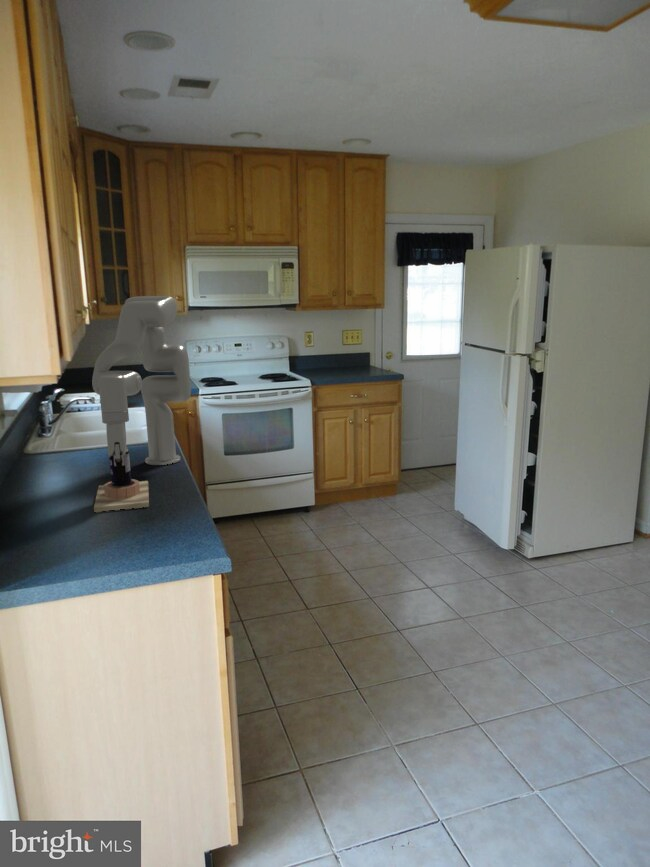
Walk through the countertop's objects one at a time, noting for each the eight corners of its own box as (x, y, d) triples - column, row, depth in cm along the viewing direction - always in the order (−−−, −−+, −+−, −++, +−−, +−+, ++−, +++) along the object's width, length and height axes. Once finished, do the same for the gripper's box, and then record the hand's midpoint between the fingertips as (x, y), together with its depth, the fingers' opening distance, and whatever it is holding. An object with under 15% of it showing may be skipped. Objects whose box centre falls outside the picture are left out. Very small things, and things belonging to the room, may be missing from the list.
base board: (99, 489, 200) (98, 485, 200) (148, 485, 204) (147, 480, 203) (94, 512, 179) (93, 507, 179) (149, 506, 183) (148, 501, 183)
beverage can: (124, 482, 195) (121, 444, 192) (135, 485, 191) (132, 447, 188) (108, 486, 190) (104, 448, 188) (119, 490, 187) (115, 451, 184)
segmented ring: (106, 490, 195) (105, 480, 194) (139, 486, 197) (139, 477, 196) (104, 500, 185) (103, 490, 184) (139, 496, 188) (138, 486, 187)
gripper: (103, 412, 193) (109, 469, 197) (100, 423, 177) (106, 484, 181) (129, 410, 195) (134, 467, 199) (128, 421, 179) (133, 482, 183)
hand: (120, 474), depth 190 cm, fingers closed on beverage can, 5 cm apart
